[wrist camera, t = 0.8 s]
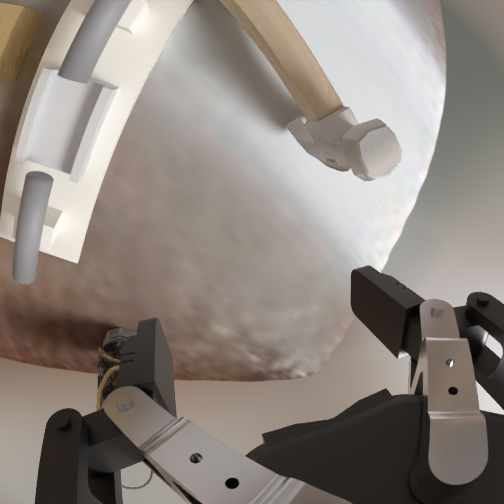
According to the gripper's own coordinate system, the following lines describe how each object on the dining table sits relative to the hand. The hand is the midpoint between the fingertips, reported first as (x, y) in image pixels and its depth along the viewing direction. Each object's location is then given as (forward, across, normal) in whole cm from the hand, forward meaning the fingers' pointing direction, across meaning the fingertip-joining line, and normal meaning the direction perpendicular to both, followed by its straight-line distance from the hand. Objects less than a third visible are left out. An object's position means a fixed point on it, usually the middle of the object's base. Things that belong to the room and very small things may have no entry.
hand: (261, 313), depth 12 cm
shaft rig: (+24, +13, -12) cm, 30 cm away
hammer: (+23, -8, -18) cm, 30 cm away
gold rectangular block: (+21, +18, -24) cm, 36 cm away
